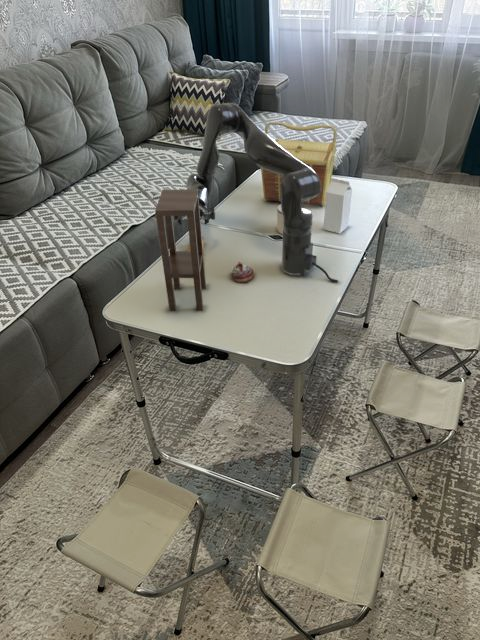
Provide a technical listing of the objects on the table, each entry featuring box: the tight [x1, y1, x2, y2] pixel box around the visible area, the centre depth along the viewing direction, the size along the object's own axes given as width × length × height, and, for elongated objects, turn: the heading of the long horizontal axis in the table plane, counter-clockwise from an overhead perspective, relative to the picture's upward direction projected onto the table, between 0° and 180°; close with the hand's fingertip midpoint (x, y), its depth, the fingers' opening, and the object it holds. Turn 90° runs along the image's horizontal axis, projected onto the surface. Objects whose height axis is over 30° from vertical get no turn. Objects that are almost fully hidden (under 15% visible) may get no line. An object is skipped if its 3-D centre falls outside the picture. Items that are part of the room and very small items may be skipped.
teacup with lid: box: [276, 204, 283, 235], centre depth 192 cm, size 12×9×12 cm
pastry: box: [230, 261, 255, 283], centre depth 167 cm, size 8×8×5 cm
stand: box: [154, 189, 207, 312], centre depth 149 cm, size 14×10×32 cm
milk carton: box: [322, 177, 353, 234], centre depth 190 cm, size 7×7×19 cm
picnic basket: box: [260, 121, 338, 207], centre depth 210 cm, size 29×26×30 cm
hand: (192, 222), depth 173 cm, fingers open, 8 cm apart
